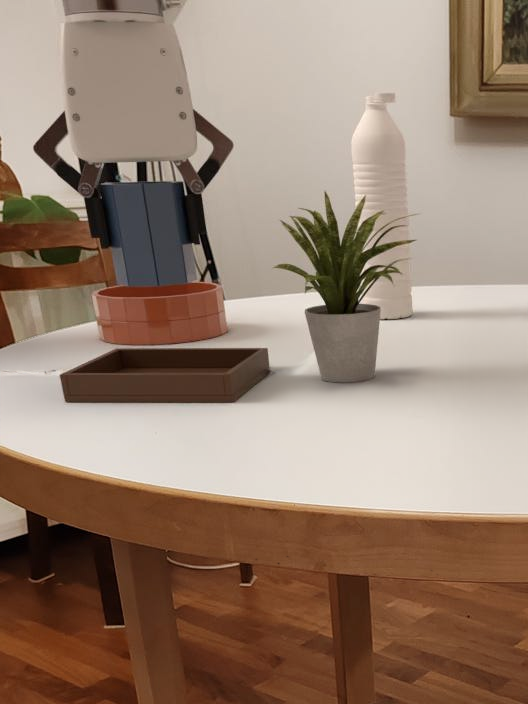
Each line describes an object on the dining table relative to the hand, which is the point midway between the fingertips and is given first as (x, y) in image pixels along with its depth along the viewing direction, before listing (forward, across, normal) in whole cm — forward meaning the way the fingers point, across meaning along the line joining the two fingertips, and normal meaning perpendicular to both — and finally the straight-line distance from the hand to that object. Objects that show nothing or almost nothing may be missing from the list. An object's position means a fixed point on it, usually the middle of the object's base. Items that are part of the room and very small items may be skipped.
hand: (151, 243), depth 86 cm
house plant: (+13, -16, +3) cm, 21 cm away
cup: (+3, 0, 0) cm, 3 cm away
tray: (+12, 0, 0) cm, 12 cm away
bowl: (+12, +1, -27) cm, 30 cm away
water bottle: (+13, -27, -33) cm, 44 cm away
